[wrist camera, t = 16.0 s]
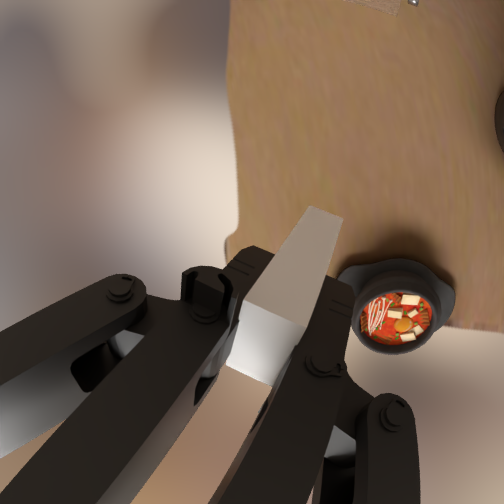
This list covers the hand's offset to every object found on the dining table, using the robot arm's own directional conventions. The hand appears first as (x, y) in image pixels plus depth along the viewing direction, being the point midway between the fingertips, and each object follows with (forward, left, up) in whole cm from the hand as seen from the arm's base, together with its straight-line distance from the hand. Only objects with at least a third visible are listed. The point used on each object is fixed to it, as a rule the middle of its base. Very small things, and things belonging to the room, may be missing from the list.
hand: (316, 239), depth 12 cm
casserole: (-18, +22, -34) cm, 44 cm away
